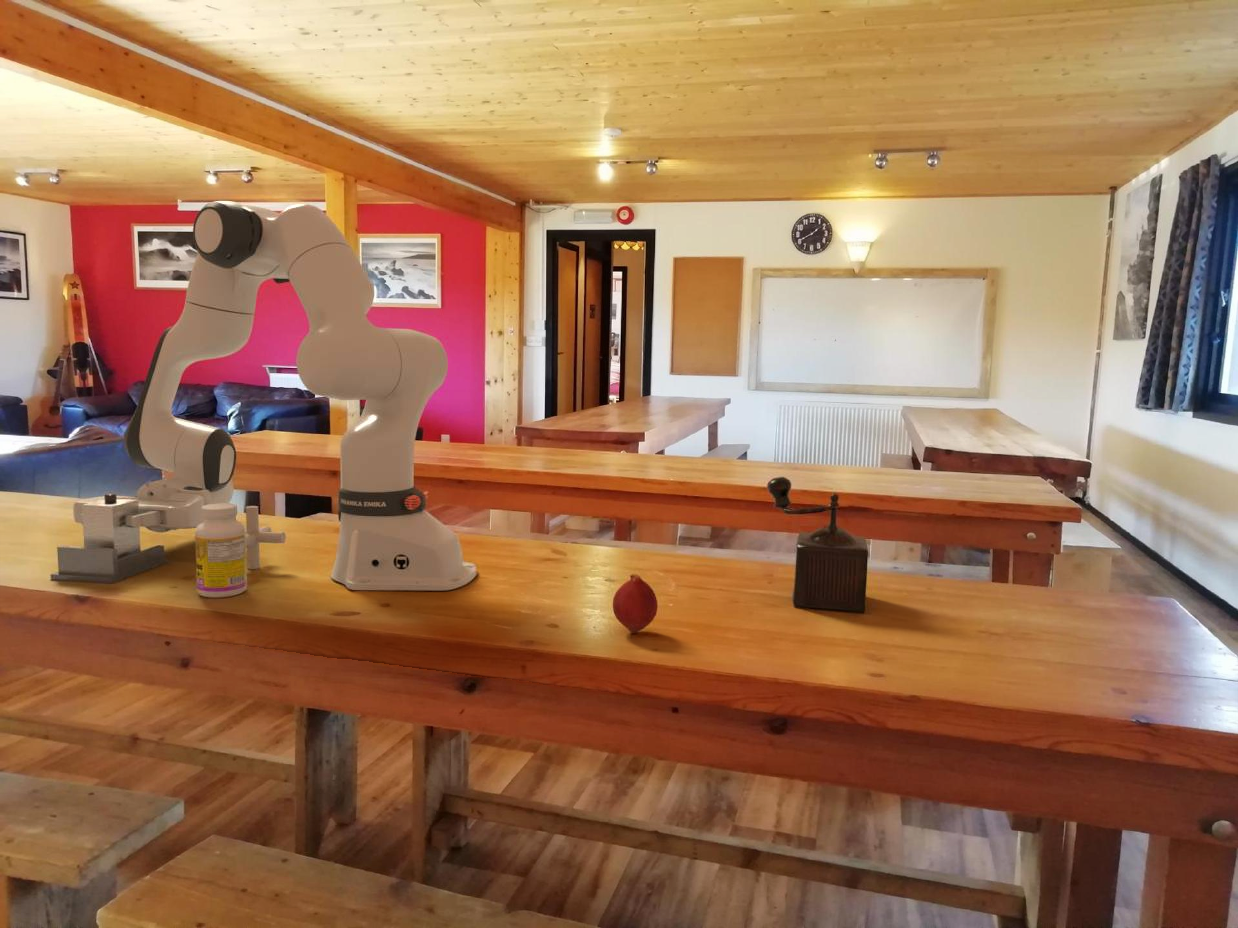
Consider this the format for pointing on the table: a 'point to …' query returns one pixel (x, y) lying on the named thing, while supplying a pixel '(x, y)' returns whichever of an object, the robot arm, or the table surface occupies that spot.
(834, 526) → the manual coffee grinder
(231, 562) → the supplement bottle
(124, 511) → the block
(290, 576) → the table surface
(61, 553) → the tray
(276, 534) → the pipe connector
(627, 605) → the onion
